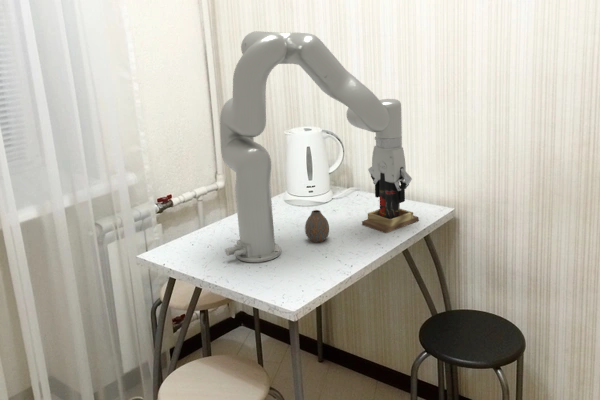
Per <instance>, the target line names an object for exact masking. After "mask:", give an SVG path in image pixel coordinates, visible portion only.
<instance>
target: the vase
mask: <svg viewBox="0 0 600 400" xmlns="http://www.w3.org/2000/svg"><path fill="white" fill-rule="evenodd" d="M304 232H305V235H306V238H307V239H308V240H309V241H310V242H312V243H322V242H324V241H325V240H326V239H327V238H328V236H329V233H330V224H329V221H328V220H327V218H326V217H325V216H324V215H323V214H322V211H321V210H319V209H313V210H312V211H311V212H310V215H309V216H308V218H307V219H306V221H305V224H304Z"/></svg>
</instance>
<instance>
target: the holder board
mask: <svg viewBox="0 0 600 400" xmlns="http://www.w3.org/2000/svg"><path fill="white" fill-rule="evenodd" d="M416 221H417V222H419V221H420V220H419V216H416V215H414V212H413V211H409V210H405V209H403V208H400V216H398V217H395V218H393V219H388V218H385V217H382V216H380V208H379V209H376V210H373V211H370V212H367V219H363V220H362V221H361V225H362V226H364V227H367V228H370V229H372V230H375V231H378V232H381V233H385V234H387V233H390V232H392V231H395V230H397V229H400V228H403V227H406V226H409V225H411V224H414V223H417V222H416Z"/></svg>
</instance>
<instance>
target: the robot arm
mask: <svg viewBox="0 0 600 400" xmlns="http://www.w3.org/2000/svg"><path fill="white" fill-rule="evenodd" d="M240 48H241V49H240V50H241V53H242V55H241V57H239V60H238V62H237V63H236V64H235V65H236V66H235V68H234V72H233V77H232V97H231V98H229V99H228V100H227V101H226V102H225V103H224V104H223V106H222V108H221V111H220V115H219V116H220V117H219V129H220V130H219V133H220V134H219V135H220V152H221V153H220V154H221V158H222V161H223V163H224V164H225V165H226V166H227V167H228V168H229V169H230V170H232V171H233V172H234V173H235V177H236V178H235V187H234V192H235V204H236V212H237V223H238V224H237V225H238V234H239V239H237V240H236V244H234V246H230V247H228V248H226V249H224V253H225V255H226V256H227V257H228V256H229V257H230V256H232V255H234V256H235V257H236V259H238V260H240V261H242V262H247V263H263V262H268V261H271V260H273V259H276V258H278V257H279V256H280V255H281V253H282V248H281V246H280V244H277V243H276V241H275V229H274V228H275V227H274V226H275V225H274V217H273V216H274V215H273V203H272V191H271V176H272V159H271V156H270V154H269V151H267V149H266V148H265V147H264V146H263V145H261V144H259V143H258V142H256V141H254V139H255V138H256V137H258V136H260V135H262V133H263V132H265V129H266V126H267V125H266V124H267V101H266V100H267V98H266V92H267V91H266V90H267V83H268V82H267V81H268V78H269V75H270V73H271V72H272V70H273V69H275V67H277V66H278V65H287V64H288V65H292V64H293V65H297V66H299V67H300V68H301V69H302V70H303V71H304V72H305V73H306V74H307V75H308V76H309V77H310V79H311V80H312V81H313V82H314V83H315V84H316V86H318V88H319V89H320V90H321V91H322V92H323V93H324V94H325V95H327V96H329V97H330V98H332V99H334V100H335V101H337V102H339V103H341V104H343V105H344V106H346V107H347V110H346V120H347V121H348V123H349V124H350V125H351V126H353V127H355V128H358V129H362V130H364V131H368V132H371V133H375V136H374V140H375V145H374V146H373V150H372V157H371V166H370V167H369V168H368V172H369V174H370V178H371V179H372V183H373V185H374V195H375V198H380V191H379V180H380V173H384V174H385V181H386V182H389V183H395V186H396V188H397V190H396V203H397V204H399V203H400V204H402V203H404V202H405V201H406V193H405V191H406V189H407V187H409V186H410V183H411V181H412V180H413V178H412V177H411V176H410V175H409V173H408V171H406V170H407V169H406V157H405V152H404V147H403V139H402V138H403V137H402V136H403V135H402V134H403V131H402V130H403V129H402V128H403V127H402V126H403V125H402V124H403V123H402V102H401V101H400V100H398V99H395V98H384V99H379V98H378V97H377V96H376V94H375V93H374V92H373V91H371V90H370V88H369V87H368V86H366V85H365V84H363V83H362V82H361V81H360V80H359V79H357V77H356V76H354V75H353V74H352V73H351V72H349V71H348V70H347V69H346V67H344V65H342V63H341V62H340V61H339V59H337V57H336V56H335V55H334V54H333V52H332V51H331V50H330V49H329V48H328V47H327V45H325V43H324V42H323V41H322V40H321V39H320V38H319V37H318V36H316V35H315V34H312V33H307V32H306V33H305V32H277V31H276V32H275V31H260V30H259V31H257V30H256V31H251V32H249V33H248V34H246V35H245V36H244V37H243V39H242V42H241V46H240Z"/></svg>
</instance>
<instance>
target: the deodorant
mask: <svg viewBox="0 0 600 400" xmlns="http://www.w3.org/2000/svg"><path fill="white" fill-rule="evenodd" d="M396 190H397V188H396V186H395V183H389V182H386V181H385V174H384V173H380V180H379V191H380V197H379V209H380V216H382V217H385V218H388V219H393V218H395V217H398V216H400V209H401V207H400V204H401V203H399V204H397V203H396Z"/></svg>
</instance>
